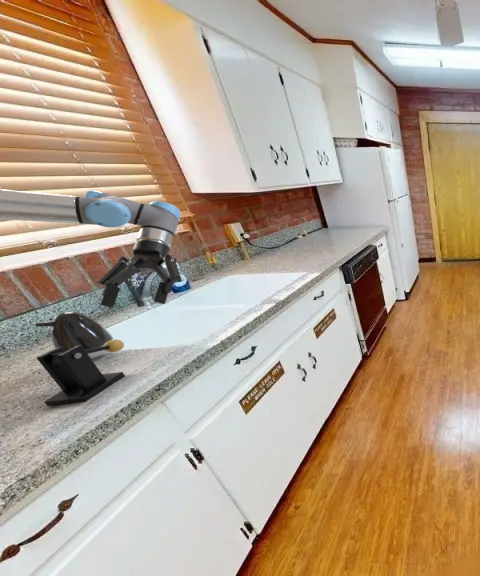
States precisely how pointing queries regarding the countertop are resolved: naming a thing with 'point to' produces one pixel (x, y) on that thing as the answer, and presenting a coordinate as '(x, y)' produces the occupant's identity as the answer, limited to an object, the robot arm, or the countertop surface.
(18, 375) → the countertop surface
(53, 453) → the countertop surface
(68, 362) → the black lever base
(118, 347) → the tap lever
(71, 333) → the dark glossy oval piece
